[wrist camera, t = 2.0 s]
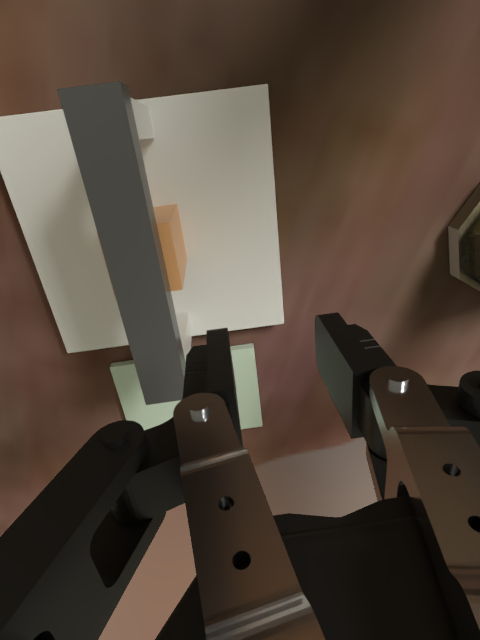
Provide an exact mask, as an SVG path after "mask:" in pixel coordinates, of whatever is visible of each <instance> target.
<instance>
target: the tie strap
mask: <svg viewBox="0 0 480 640" xmlns="http://www.w3.org/2000/svg"><path fill="white" fill-rule="evenodd" d="M57 91H58V94H59V98H60V101H61V105H62V109H63V112H64V116H65V119H66V123H67V126H68V130H69V133H70V137H71V141H72V144H73V148H74V151H75V155H76V158H77V162H78V165H79V169H80V173H81V176H82V180H83V183H84V187H85V190H86V194H87V197H88V201H89V205H90V208H91V212H92V215H93V219H94V222H95V226H96V229H97V233H98V237H99V240H100V244H101V247H102V251H103V254H104V258H105V261H106V265H107V268H108V272H109V276H110V279H111V283H112V286H113V290H114V293H115V297H116V300H117V304H118V308H119V311H120V315H121V318H122V322H123V325H124V329H125V332H126V336H127V340H128V343H129V347H130V350H131V354H132V357H133V361H134V364H135V368H136V372H137V375H138V379H139V382H140V386H141V389H142V393H143V396H144V400H145V403H146V405H151V404H158V403H165V402H172V401H179V400H182V398H183V387H184V376H185V366H186V365H185V364H186V362H185V357H184V352H183V347H182V343H181V338H180V333H179V328H178V324H177V319H176V314H175V309H174V304H173V300H172V295H171V290H170V285H169V281H168V276H167V271H166V266H165V261H164V257H163V252H162V247H161V242H160V238H159V233H158V228H157V223H156V218H155V214H154V209H153V204H152V199H151V195H150V190H149V185H148V180H147V175H146V171H145V166H144V161H143V156H142V152H141V147H140V142H139V137H138V133H137V128H136V123H135V118H134V113H133V109H132V104H131V99H130V94H129V90H128V86H127V85H125V84H123V83H122V82H120V81H118V82H110V83H102V84H94V85H86V86H77V87H69V88H61V89H57Z"/></svg>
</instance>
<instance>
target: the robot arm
mask: <svg viewBox="0 0 480 640" xmlns="http://www.w3.org/2000/svg"><path fill="white" fill-rule="evenodd" d="M315 345H316V361H317V366H318V370H319V372H320V374H321V377H322V379H323V381H324V383H325V385H326V387H327V389H328V391H329V393H330V395H331V397H332V399H333V402H334V404H335V406H336V408H337V410H338V412H339V414H340V416H341V418H342V420H343V422H344V424H345V426H346V429H347V431H348V433H349V435H350V437H351V439H352V438H359V437H364V438H365V440H366V457H367V461H368V465H369V469H370V473H371V477H372V481H373V485H374V489H375V493H376V497H377V501H378V502H375V503H373V504H371V505H369V506H366V507H364V508H362V509H359V510H357V511H355V512H353V513H350V514H348V515H346V516H343V517H337V518H334V517H324V516H311V515H301V514H282V515H275V516H273V515H272V512H271V510H270V507H269V505H268V502H267V500H266V497H265V494H264V492H263V489H262V487H261V484H260V481H259V479H258V476H257V474H256V471H255V469H254V466H253V463H252V461H251V458H250V456H249V453H248V451H247V449H246V448H244V449H243V443H242V434H241V426H240V418H239V409H238V401H237V393H236V384H235V376H234V369H233V362H232V355H231V348H230V341H229V334H228V328H220V329H213V330H207V345H200V346H193V347H192V349H191V350H190V351H189V352H188V354H187V355H186V364H185V365H186V366H185V376H184V387H183V398H182V400H181V401H180V402H179V403H178V404H177V405H176V406H175V408H174V411H173V417H172V418H171V419H169V420H168V421H166V422H164V423H162V424H160V425H158V426H155V427H152V428H150V429H147V430H144V429H143V427H142V426H141V425H140V424H139V423H137V422H135V421H130V420H122V421H117V422H113V423H111V424H108V425H106V426H104V427H103V428H101V429H100V430H98V431H97V432H96V433H95V434H94V435H93V436H92V437H91V438H90V439H89V440H88V441H87V442H86V443H85V444H84V446H83V447H82V448H81V449H80V450H79V451H78V452H77V453H76V454H75V455H74V457H73V458H72V459H71V460H70V461H69V462H68V463H67V464H66V465H65V466H64V468H63V469H62V470H61V471H60V472H59V473H58V474H57V475H56V476H55V477H54V479H53V480H52V481H51V482H50V483H49V484H48V485H47V486H46V487H45V488H44V490H43V491H42V492H41V493H40V494H39V495H38V496H37V497H36V498H35V500H34V501H33V502H32V503H31V504H30V505H29V506H28V507H27V508H26V509H25V511H24V512H23V513H22V514H21V515H20V516H19V517H18V518H17V519H16V520H15V522H14V523H13V524H12V525H11V526H10V527H9V528H8V529H7V530H6V531H5V533H4V534H3V535H2V536H1V537H0V640H98V639H99V637H100V635H101V633H102V631H103V630H104V628H105V626H106V624H107V622H108V620H109V619H110V617H111V615H112V613H113V611H114V610H115V608H116V606H117V604H118V602H119V600H120V598H121V597H122V595H123V593H124V591H125V589H126V588H127V585H128V584H129V582H130V580H131V578H132V576H133V575H134V573H135V571H136V569H137V567H138V566H139V564H140V562H141V560H142V558H143V556H144V555H145V553H146V551H147V549H148V547H149V545H150V543H151V542H152V540H153V538H154V536H155V534H156V533H157V531H158V529H159V527H160V525H161V523H162V522H163V520H164V517H165V514H166V511H168V510H170V509H172V508H174V507H177V506H179V505H181V504H183V503H185V504H186V510H187V517H188V523H189V529H190V536H191V542H192V548H193V555H194V561H195V568H196V574H197V575H196V577H195V578H194V580H193V581H192V583H191V584H190V586H189V588H188V589H187V591H186V592H185V594H184V595H183V597H182V598H181V600H180V602H179V603H178V605H177V606H176V608H175V609H174V611H173V612H172V614H171V616H170V617H169V619H168V620H167V622H166V623H165V625H164V626H163V628H162V630H161V631H160V633H159V634H158V636H157V637H156V639H155V640H480V371H472V372H468V373H466V374H464V375H463V376H462V377H461V379H460V383H459V387H451V386H436V385H428V384H426V382H425V380H424V379H423V377H422V376H421V375H420V374H418V373H417V372H415V371H413V370H410V369H408V368H404V367H398V366H396V365H395V363H394V362H393V361H392V360H391V359H390V357H389V356H388V355H387V354H386V353H385V351H384V350H383V349H382V348H381V347H379V344H378V343H377V342H376V341H375V340H374V338H373V337H372V336H371V334H370V333H369V332H368V331H367V330H365V329H364V328H362V327H360V326H358V325H356V324H352V325H347V324H346V322H345V321H344V320H343V318H342V317H341V316H340V314H339V313H330V314H323V315H316V317H315Z"/></svg>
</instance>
